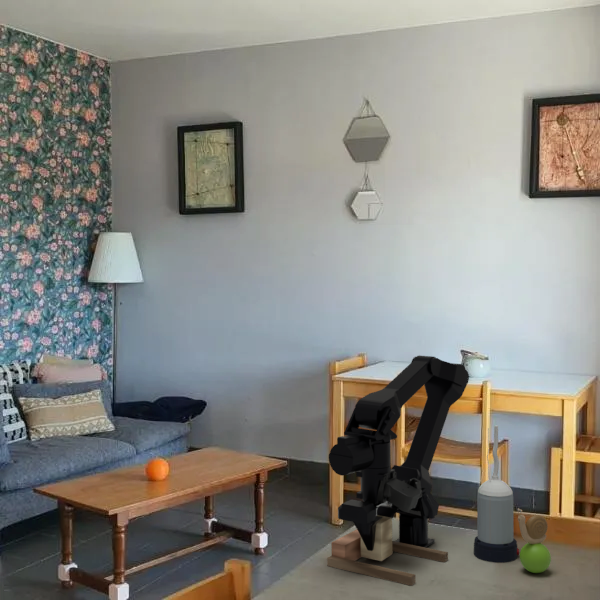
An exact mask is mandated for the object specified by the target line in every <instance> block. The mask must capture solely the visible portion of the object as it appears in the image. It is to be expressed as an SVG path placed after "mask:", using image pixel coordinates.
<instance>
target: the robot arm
mask: <svg viewBox="0 0 600 600" xmlns="http://www.w3.org/2000/svg"><path fill="white" fill-rule="evenodd" d="M408 364H409V363H408ZM469 381H470V374H469V372H468V370H467V369H466V367H465V366H464V365H463V363H452V362H447V361H444V360H441V359H440V358H438V357H436V356H432V355H431V356H429V355H417V356H414V357H413V358H412V359H411V362H410V364H409V365H408V366H406V367H405V368H404V369H403V370H402V371H401V372H400V373H399V374H397V375H396V377H395V378H393V379H392V380H391V381H390V382H389V383H388V384H386V385H385V387H383V388H382V389H380V390H377V391H373V392H370V393H368V394H366V395H365V396H363V397H361V398H360V399H359V400H358V401H357V402H356V403H355V406H354V408H353V412H352V413H351V415H350V418H349V420H348V423H347V425H346V427H345V430H344V432H343V434H344V436H342V435H340V436H338V437H337V438H336V439H337V441H336V444H334V445H332V447H331V449H330V451H329V454H328V462H329V466H330V468H331V469H332V471H333V472H334V473H335V474H337V475H339V476H347V475H350V474H353V473H354V474H356V475H355V476H356V478H360V490H359V491H358V492H356V499H359V500H356V499H349V500H346V501H344V502H343V503H341V505H339V506H337V519H338V520H341V521H347V522H350V523H351V522H352V523H353V524H354V526H355V528H356V529H357V530H358V532H359V534H360V536H361V538H362V540H363V542H364V544H365V546H366V548H367V550H369V551H373V549H374V542H375V531H376V524H377V523H378V522H379V521H380V520H381V519H382V518H383V517H379V516H385V517H391V518H392V520H393V518H394V515H395V514H398V515H399V516H398V535H399V536H398V538H397V539H395V540H394V541H395V542H400V543H405V544H410V545H415V546H420V547H425V548H428V547H430V546H431V545H433V544H434V543H436V540H435V538H429V520H430V519H433V520H434V519H435V517H437V515H438V512H439V506H440V503H439V502H438V501H437V500H436V499H435V496H433V495H432V493H431V492H432V489H433V488H432V487H433V484H432V479H431V475H430V467H431V465H432V462H433V459H434V456H435V453H436V450H437V446H438V443H439V441H440V438H441V434H442V432H443V428H444V426H445V424H446V420H447V417H448V414H449V411H450V408H451V406H452V405H454V404H455V403H456V402H457V401H458V400H459V399H460V398H461V397H462V396H463V394H464V392H465V390H466V387H467V385H468V384H469ZM423 386H424V389H425V393H426V401H425V403H424V407H423V409H422V412H421V416H420V417H419V418H420V419H419V421H418V424H417V427H416V429H415V432H414V435H413V439H412V441H411V444H410V446H409V449H408V452H407V455H406V459H405V461H404V462H403V463H402V464H400V465H397V464H394V465H393V466H392V467H391V465H392V463H391V462H392V461H391V460H392V459H391V455H392V454H391V453H392V452H391V442H392V441H391V440H395V439H397V438H398V435H397V434H396V433H395V432H394V431H393V430H392V429H393V427H394V426H395V425H396V423H397V422H398V421H399V419H400V418H401V415H402V414H401V413H402V408H403V406H404V405H406V403H407V402H408V401H409V400H410V399H411V398H412V397H414V395H416V393H417V392H418V391H419V390H420V389H421V388H422V387H423ZM377 515H379V516H377Z"/></svg>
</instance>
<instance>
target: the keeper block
mask: <svg viewBox="0 0 600 600" xmlns="http://www.w3.org/2000/svg"><path fill="white" fill-rule="evenodd" d="M377 516H379V515H377ZM379 517H383V518H382V519H381V520H380V521H379V522H378V523H377V524H376V531H375V542H374V549H373V551H369V550H367V548H366V546H365V544H364V542H363V540H362V538H361V558H366V559H369V560H374V561H379V562H383V561H384V560H386V559H387V558H389V557H390V556H392V555H393V551H392V541H393V519H392V518H391V517H385V516H379Z"/></svg>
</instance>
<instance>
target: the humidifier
mask: <svg viewBox="0 0 600 600" xmlns="http://www.w3.org/2000/svg"><path fill="white" fill-rule="evenodd" d="M489 429H490V428H487V438H488V439H487V443H488V447H490V443H489V442H490V441H489V439H490V438H489V437H490V434H489V433H490V432H489V431H490V430H489ZM492 448H493V449H492V457H493V458H492V459H493V472H492V475H491V478H490V469H489V468H490V465H489V461H487V465H488V466H487V469H488V470H487V471H488V473H487V475H488V477H487V478H488V479H487V480H486V481H484V482H482V484H481V485H480V486H479V488H478V490H477V496H476V497H477V498H476V499H477V501H476V502H477V503H476V506H477V509H476V510H477V511H476V512H477V515H476V516H477V523H476V524H477V526H476V527H477V530H476V531H477V535H476V537H474V542H473V554H474V557H475V558H477V559H479V560H482V561H484V562H489V563H497V564H499V563H511V562H514V561H516V559H518V556H520V549H519V547H518V543H517V540H516V538H514V494H513V493H514V492H513V490H512V488H511V487H510V485H508V484H507V482H505V481H503V480H502V479H501V478H499V470H500V469H499V468H500V466H499V465H500V461H499V456H498V448H499V425H494V426H493V447H492ZM489 452H490V450H488V451H487V455H486V459H487V460H489Z"/></svg>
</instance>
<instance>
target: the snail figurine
mask: <svg viewBox="0 0 600 600" xmlns="http://www.w3.org/2000/svg"><path fill="white" fill-rule="evenodd" d="M516 511H517V514H518V516H517V521H518V525H519V531H520V534H521V535H520V536H521V538H523V541H525V542H526V543H525V544H524V545H523V546H522V547H521V549H520V550H519V561H520V564H521V565H522V567H523V568H524V570H527V571H528V572H530V573H533V574H541V573H544V572H545V571H547V570H548V569H549V567H550V565H551V562H552V556H551V555H552V554H551V552H550V550H549V549H548V548H547V547H546V545H544V544H543V542H544V541H546V539H547V534H546V533H547V531H548V522H547V520H546V518H545V517H544V516H542V515H540V514H535V515H532V516H530V517H529V518H528V519H527V520H526V516H525V515H524V514H519V513H523V510H522V509H520V508H517V509H516Z"/></svg>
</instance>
